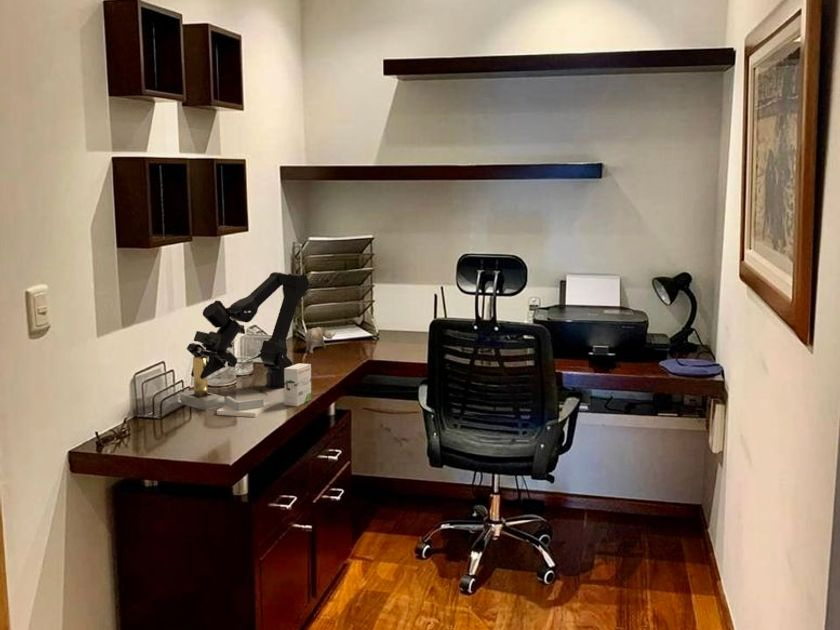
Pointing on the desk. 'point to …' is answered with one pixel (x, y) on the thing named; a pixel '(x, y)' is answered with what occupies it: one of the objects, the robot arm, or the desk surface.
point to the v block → (243, 407)
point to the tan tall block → (199, 383)
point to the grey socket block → (202, 400)
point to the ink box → (297, 384)
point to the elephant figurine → (316, 338)
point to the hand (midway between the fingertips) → (196, 377)
